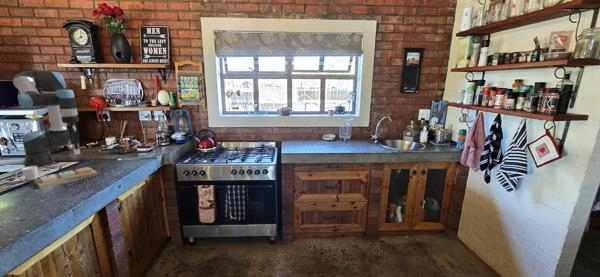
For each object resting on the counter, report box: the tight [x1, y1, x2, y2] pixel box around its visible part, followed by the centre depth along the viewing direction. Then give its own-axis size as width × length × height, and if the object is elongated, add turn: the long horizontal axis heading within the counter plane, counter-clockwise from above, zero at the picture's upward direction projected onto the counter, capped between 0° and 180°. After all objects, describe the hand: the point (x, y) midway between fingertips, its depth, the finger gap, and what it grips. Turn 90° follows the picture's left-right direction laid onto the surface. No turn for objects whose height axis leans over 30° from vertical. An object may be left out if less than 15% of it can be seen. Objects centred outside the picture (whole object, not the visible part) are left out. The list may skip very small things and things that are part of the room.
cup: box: [15, 166, 39, 182], centre depth 148 cm, size 7×10×8 cm
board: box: [33, 167, 99, 190], centre depth 151 cm, size 13×26×2 cm, turn 145°
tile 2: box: [57, 170, 75, 179], centre depth 151 cm, size 6×6×3 cm
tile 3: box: [75, 166, 92, 175], centre depth 157 cm, size 6×6×3 cm
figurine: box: [117, 138, 137, 156], centre depth 209 cm, size 10×10×12 cm
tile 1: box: [39, 173, 57, 183], centre depth 144 cm, size 6×6×3 cm
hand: (77, 154), depth 154 cm, fingers closed
